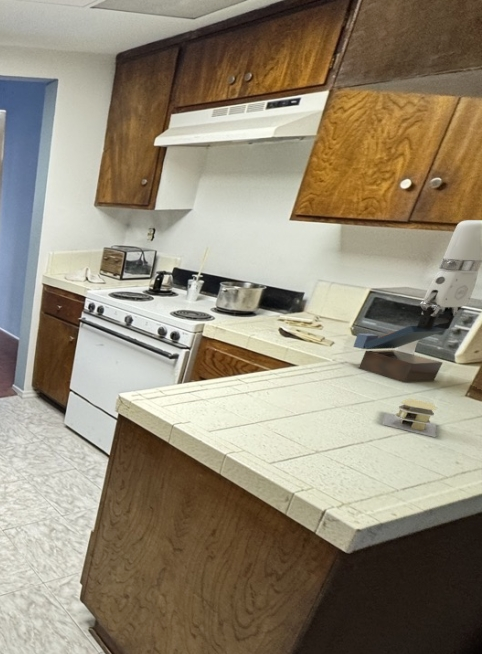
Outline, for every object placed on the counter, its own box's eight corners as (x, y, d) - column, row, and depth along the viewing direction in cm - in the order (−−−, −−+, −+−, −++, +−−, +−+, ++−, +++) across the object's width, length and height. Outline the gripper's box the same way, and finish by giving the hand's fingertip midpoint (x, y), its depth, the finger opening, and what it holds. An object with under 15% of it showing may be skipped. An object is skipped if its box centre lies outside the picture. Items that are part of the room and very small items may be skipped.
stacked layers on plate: (385, 413, 120) (394, 393, 118) (435, 425, 114) (446, 404, 112) (381, 424, 114) (391, 403, 112) (435, 437, 108) (446, 416, 106)
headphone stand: (397, 361, 162) (412, 327, 157) (391, 357, 167) (405, 324, 162) (415, 363, 160) (431, 329, 155) (408, 359, 165) (424, 326, 160)
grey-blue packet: (368, 333, 156) (363, 346, 157) (357, 333, 155) (353, 346, 157) (378, 335, 153) (373, 348, 154) (367, 335, 152) (362, 348, 154)
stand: (433, 380, 144) (442, 362, 142) (404, 382, 142) (412, 363, 140) (386, 366, 156) (393, 349, 154) (358, 368, 154) (365, 350, 152)
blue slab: (459, 325, 138) (455, 317, 139) (429, 326, 136) (425, 317, 137) (394, 348, 154) (390, 340, 155) (366, 349, 152) (362, 341, 153)
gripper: (452, 268, 128) (424, 332, 135) (500, 267, 131) (471, 330, 138) (419, 265, 135) (394, 326, 142) (466, 264, 138) (439, 324, 144)
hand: (432, 327), depth 140 cm, fingers closed on blue slab, 5 cm apart
